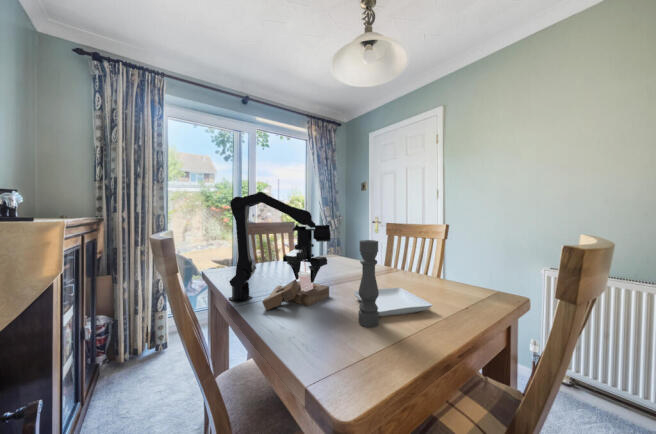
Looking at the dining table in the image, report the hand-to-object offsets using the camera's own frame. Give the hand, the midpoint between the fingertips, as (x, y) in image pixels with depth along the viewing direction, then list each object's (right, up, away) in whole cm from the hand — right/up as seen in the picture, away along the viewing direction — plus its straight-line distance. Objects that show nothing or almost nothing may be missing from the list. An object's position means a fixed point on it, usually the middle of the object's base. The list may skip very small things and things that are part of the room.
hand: (304, 281), depth 98 cm
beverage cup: (+1, -6, 0) cm, 6 cm away
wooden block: (-8, -3, -14) cm, 16 cm away
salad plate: (+32, -7, -9) cm, 34 cm away
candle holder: (+22, -7, -23) cm, 32 cm away
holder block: (0, -7, 0) cm, 6 cm away
